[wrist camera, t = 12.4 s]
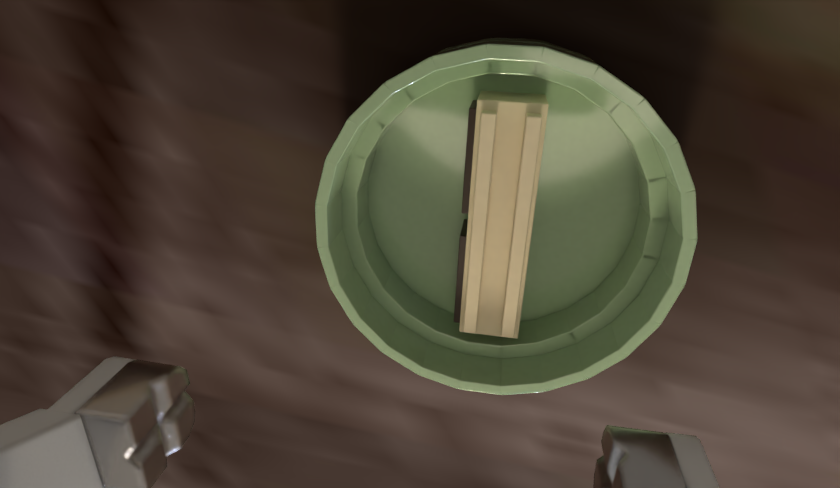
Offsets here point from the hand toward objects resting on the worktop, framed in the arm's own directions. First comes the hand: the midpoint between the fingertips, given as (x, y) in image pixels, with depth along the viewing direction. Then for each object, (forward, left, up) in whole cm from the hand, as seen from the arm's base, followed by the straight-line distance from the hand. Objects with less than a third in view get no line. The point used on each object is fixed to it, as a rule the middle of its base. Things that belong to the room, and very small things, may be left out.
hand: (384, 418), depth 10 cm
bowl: (+3, +2, -21) cm, 21 cm away
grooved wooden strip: (+3, +2, -20) cm, 20 cm away
